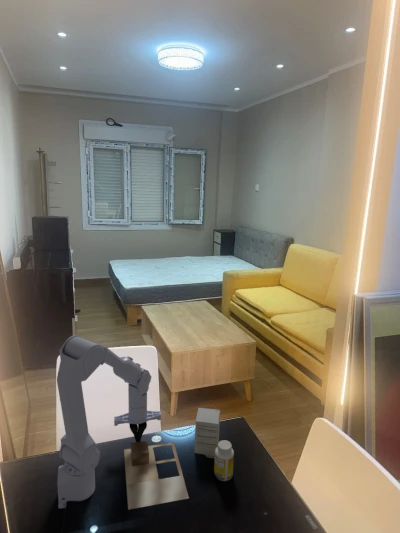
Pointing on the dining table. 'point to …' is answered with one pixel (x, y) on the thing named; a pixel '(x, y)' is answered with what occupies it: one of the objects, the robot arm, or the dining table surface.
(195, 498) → the dining table surface
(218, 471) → the supplement bottle
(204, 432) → the supplement box
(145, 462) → the walnut block
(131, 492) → the board
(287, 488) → the dining table surface
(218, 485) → the dining table surface
